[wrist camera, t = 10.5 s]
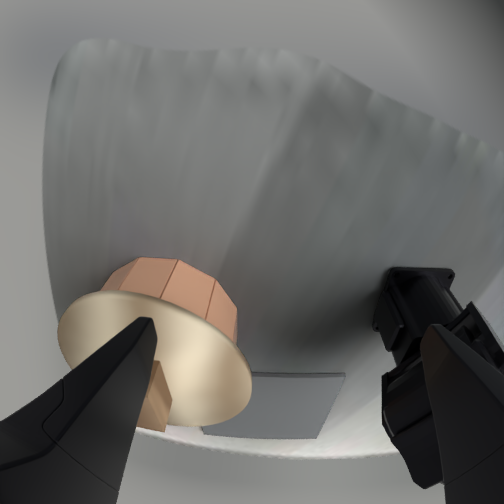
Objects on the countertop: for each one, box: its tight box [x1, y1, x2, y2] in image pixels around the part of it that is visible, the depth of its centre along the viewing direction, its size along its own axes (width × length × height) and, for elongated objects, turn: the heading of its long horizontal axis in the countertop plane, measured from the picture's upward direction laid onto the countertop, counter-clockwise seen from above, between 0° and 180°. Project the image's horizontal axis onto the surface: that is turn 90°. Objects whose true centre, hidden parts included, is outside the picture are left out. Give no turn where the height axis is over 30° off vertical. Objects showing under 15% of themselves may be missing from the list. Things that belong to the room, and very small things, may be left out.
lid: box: [58, 290, 252, 432], centre depth 18 cm, size 15×15×4 cm
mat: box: [202, 373, 346, 439], centre depth 32 cm, size 16×16×1 cm
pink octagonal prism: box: [100, 257, 237, 345], centre depth 22 cm, size 12×12×6 cm
